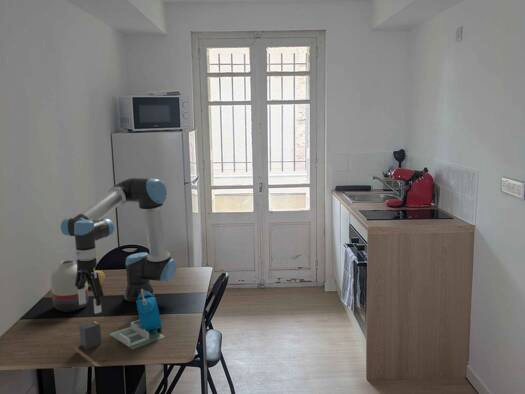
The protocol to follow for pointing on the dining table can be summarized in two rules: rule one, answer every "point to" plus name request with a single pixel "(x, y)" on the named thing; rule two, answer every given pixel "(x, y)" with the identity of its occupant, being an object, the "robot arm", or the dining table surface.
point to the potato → (101, 276)
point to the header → (141, 332)
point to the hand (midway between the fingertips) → (90, 308)
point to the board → (129, 331)
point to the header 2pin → (135, 325)
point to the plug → (90, 334)
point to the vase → (66, 287)
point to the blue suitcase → (148, 311)
